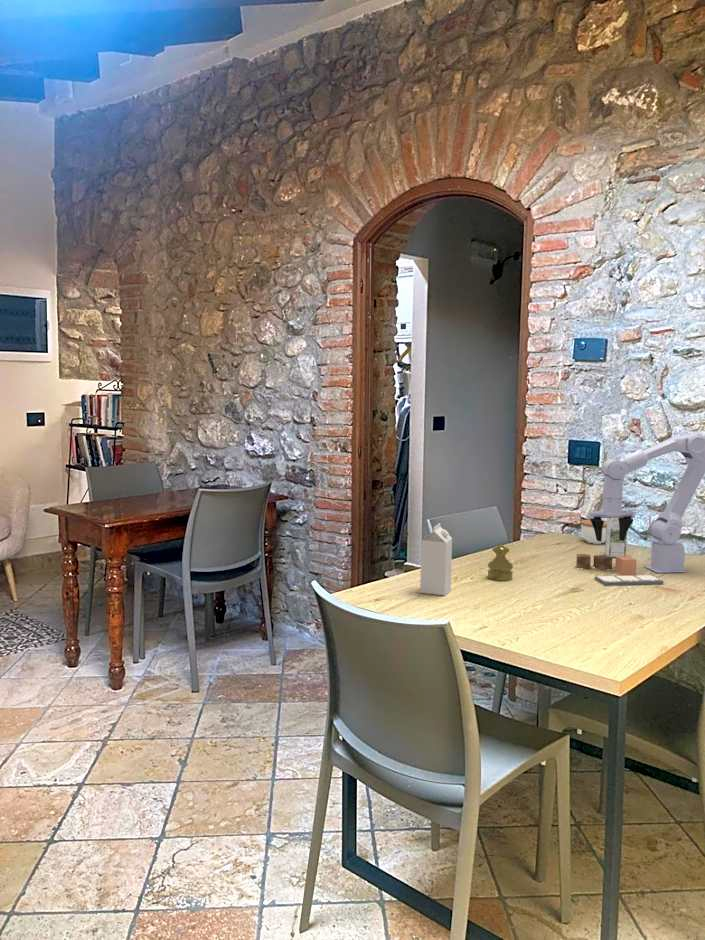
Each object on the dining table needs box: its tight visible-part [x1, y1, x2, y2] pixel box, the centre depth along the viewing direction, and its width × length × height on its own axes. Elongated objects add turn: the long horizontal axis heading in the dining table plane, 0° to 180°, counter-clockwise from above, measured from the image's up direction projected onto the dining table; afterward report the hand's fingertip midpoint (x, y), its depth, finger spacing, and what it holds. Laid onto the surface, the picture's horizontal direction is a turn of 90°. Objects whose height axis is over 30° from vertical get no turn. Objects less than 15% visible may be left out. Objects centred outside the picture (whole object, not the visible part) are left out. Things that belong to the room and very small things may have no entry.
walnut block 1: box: [575, 553, 592, 570], centre depth 245 cm, size 4×4×4 cm
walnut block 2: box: [592, 554, 613, 571], centre depth 244 cm, size 4×4×4 cm
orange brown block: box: [614, 555, 637, 576], centre depth 238 cm, size 4×4×5 cm
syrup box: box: [604, 518, 628, 558], centre depth 261 cm, size 6×6×14 cm
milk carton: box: [419, 522, 453, 596], centre depth 214 cm, size 7×7×19 cm
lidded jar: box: [580, 519, 607, 545], centre depth 284 cm, size 11×11×9 cm
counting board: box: [594, 574, 665, 587], centre depth 228 cm, size 18×7×1 cm, turn 97°
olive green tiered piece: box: [487, 544, 514, 582], centre depth 231 cm, size 7×7×10 cm
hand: (610, 540), depth 242 cm, fingers open, 7 cm apart
